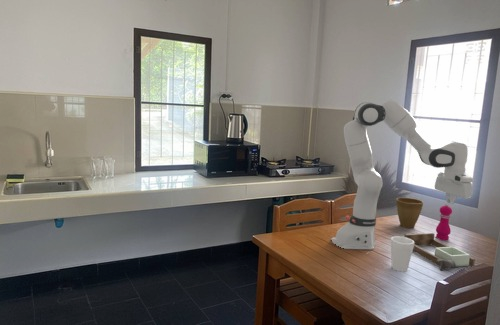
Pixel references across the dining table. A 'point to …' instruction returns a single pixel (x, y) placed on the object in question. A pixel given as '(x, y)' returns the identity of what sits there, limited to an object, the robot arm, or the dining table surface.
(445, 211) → the pepper mill
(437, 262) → the bay
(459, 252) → the crate
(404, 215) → the plant pot
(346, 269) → the dining table surface
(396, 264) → the foam cup
